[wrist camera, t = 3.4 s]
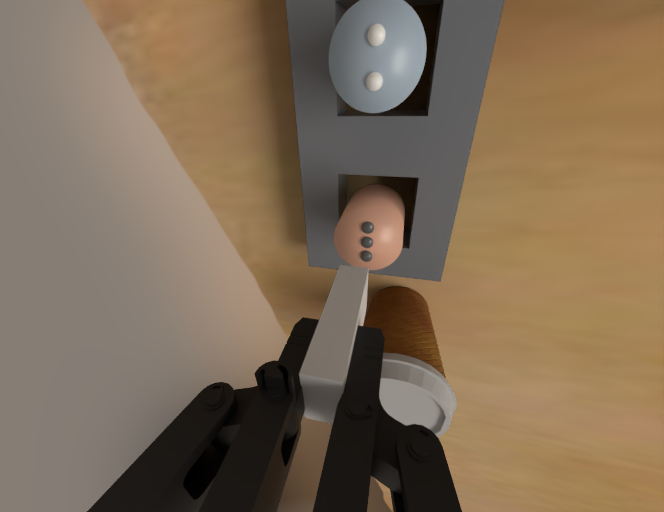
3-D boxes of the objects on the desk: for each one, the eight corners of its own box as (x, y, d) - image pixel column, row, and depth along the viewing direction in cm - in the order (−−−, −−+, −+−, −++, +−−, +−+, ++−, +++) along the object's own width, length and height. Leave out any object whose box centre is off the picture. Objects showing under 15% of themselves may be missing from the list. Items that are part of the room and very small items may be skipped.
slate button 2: (347, 16, 17) (325, -2, 13) (429, 10, 16) (434, -12, 12) (347, 104, 19) (329, 113, 15) (417, 103, 18) (419, 113, 14)
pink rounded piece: (347, 182, 22) (332, 208, 18) (408, 185, 21) (406, 213, 17) (347, 234, 25) (333, 267, 20) (401, 238, 24) (398, 275, 19)
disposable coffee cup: (346, 281, 32) (315, 375, 22) (434, 267, 28) (446, 372, 18) (370, 340, 36) (354, 441, 26) (451, 334, 32) (467, 449, 22)
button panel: (280, -364, 13) (242, -489, 10) (593, -484, 10) (663, -700, 7) (318, 247, 30) (309, 266, 27) (437, 259, 27) (440, 281, 25)
